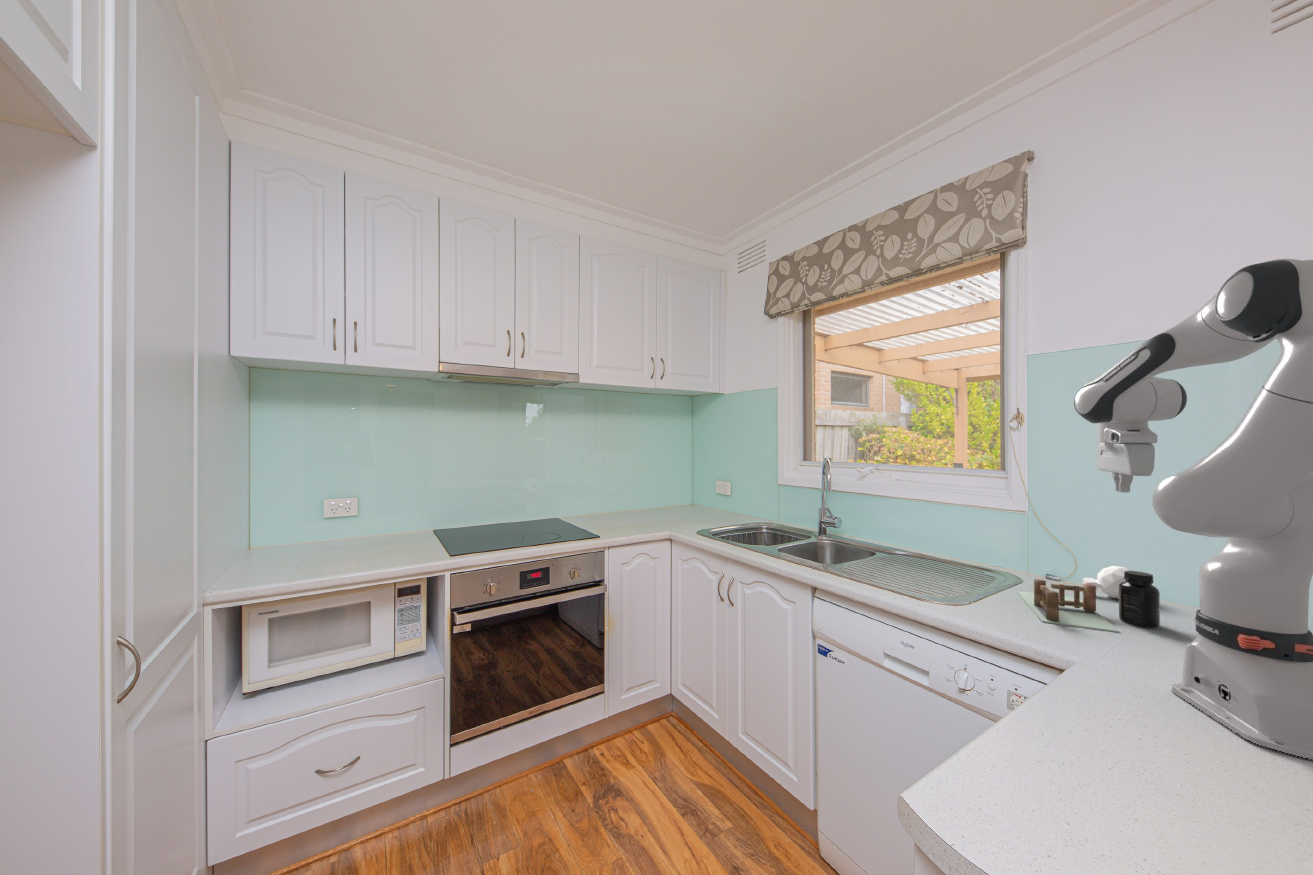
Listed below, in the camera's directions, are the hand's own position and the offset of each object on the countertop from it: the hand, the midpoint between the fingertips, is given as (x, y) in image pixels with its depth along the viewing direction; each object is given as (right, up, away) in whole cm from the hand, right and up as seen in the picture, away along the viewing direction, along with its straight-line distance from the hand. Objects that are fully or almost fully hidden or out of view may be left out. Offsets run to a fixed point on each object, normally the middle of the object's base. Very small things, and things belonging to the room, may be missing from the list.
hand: (1122, 491), depth 113 cm
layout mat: (-10, -31, +6) cm, 33 cm away
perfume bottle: (+12, -31, +15) cm, 37 cm away
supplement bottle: (+1, -31, -3) cm, 31 cm away
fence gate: (-7, -30, +5) cm, 32 cm away
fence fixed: (-16, -31, +3) cm, 35 cm away
